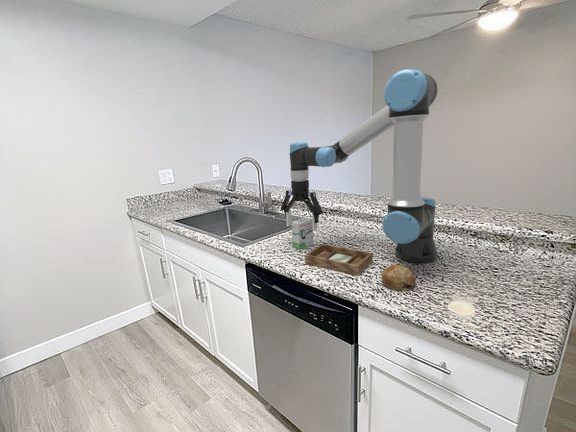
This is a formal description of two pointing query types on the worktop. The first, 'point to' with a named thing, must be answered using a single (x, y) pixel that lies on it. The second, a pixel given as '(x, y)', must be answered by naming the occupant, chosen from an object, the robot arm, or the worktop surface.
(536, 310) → the worktop surface
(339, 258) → the tray
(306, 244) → the ink box
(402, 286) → the bread roll
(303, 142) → the robot arm
